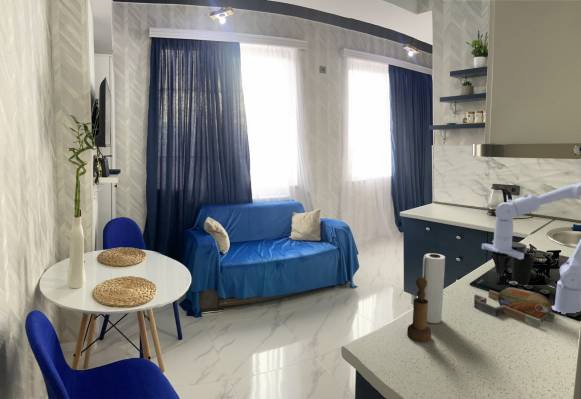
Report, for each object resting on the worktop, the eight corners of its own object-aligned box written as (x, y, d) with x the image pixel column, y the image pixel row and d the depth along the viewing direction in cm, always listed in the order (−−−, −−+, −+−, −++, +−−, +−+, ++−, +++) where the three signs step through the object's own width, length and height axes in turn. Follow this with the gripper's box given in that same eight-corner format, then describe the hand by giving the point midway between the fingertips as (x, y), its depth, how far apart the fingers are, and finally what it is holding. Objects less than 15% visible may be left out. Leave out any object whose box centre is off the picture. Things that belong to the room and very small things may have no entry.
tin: (496, 309, 130) (498, 285, 128) (499, 306, 132) (501, 283, 130) (548, 324, 119) (551, 298, 118) (551, 321, 121) (553, 296, 120)
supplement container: (530, 275, 161) (533, 247, 159) (505, 274, 161) (508, 247, 160) (516, 266, 172) (519, 241, 170) (493, 266, 172) (495, 240, 170)
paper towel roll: (438, 315, 125) (442, 252, 122) (443, 324, 119) (447, 258, 116) (415, 314, 126) (418, 252, 122) (420, 323, 120) (423, 258, 116)
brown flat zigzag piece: (497, 294, 142) (497, 288, 141) (561, 318, 122) (562, 311, 122) (466, 303, 134) (467, 297, 133) (530, 331, 114) (531, 323, 114)
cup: (534, 288, 147) (537, 258, 145) (513, 287, 148) (515, 257, 146) (526, 281, 154) (529, 252, 152) (506, 279, 156) (508, 251, 154)
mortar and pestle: (434, 336, 112) (437, 277, 109) (425, 344, 107) (428, 284, 105) (413, 328, 117) (415, 272, 114) (403, 336, 112) (405, 278, 109)
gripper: (477, 233, 139) (474, 268, 142) (516, 242, 127) (512, 281, 129) (489, 231, 143) (486, 265, 145) (528, 239, 130) (525, 277, 132)
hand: (499, 273), depth 137 cm, fingers closed
